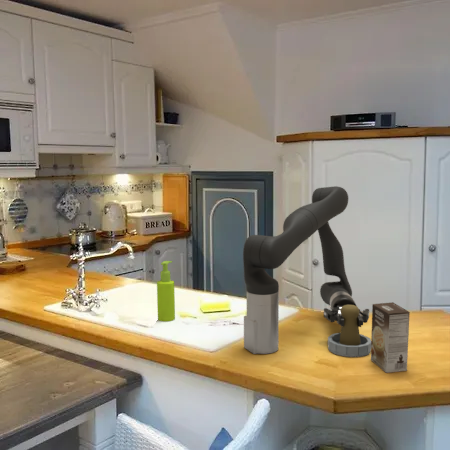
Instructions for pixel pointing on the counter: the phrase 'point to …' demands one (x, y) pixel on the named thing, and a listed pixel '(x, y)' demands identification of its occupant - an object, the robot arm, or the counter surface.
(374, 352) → the coffee box
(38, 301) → the counter surface
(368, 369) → the counter surface
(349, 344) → the cork
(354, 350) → the slate dish
